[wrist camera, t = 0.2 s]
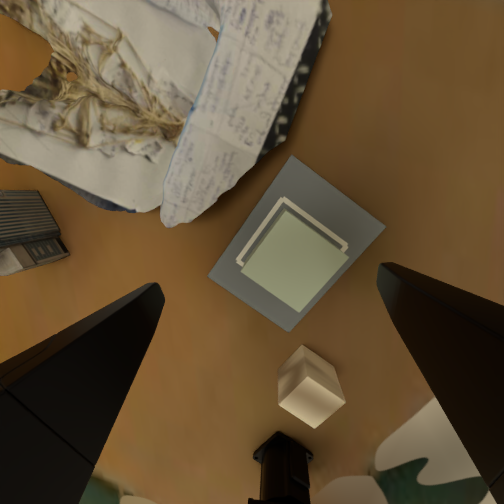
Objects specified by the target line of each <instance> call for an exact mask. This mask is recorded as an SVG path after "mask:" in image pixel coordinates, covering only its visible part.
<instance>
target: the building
mask: <svg viewBox="0 0 504 504" xmlns="http://www.w3.org/2000/svg"><path fill="white" fill-rule="evenodd" d="M59 231H60V229H59V227H58V225H57V224H56V222H55V220H54V218H53V216H52V215H51V213H50V211H49V209H48V208H47V206H46V204H45V202H44V201H43V199H42V197H41V195H40V194H39V192H38V191H32V190H0V276H8V275H11V274H14V273H18V272H21V271H24V270H28V269H31V268H34V267H38V266H41V265H44V264H48V263H51V262H54V261H57V260H60V259H62V258H64V257H67V256H69V255H70V254H69V252H68V251H67V249H66V247H65V246H64V244H63V243H62V241H61V240H60V238H59V237H58V236H59V235H61V234H60V233H59Z"/></svg>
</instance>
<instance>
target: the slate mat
mask: <svg viewBox="0 0 504 504" xmlns="http://www.w3.org/2000/svg"><path fill="white" fill-rule="evenodd" d="M284 208H285V209H286V210H287V211H289V212H290V213H291V214H293V215H294V216H296V217H297V218H298V219H300V220H301V221H302V222H304V223H305V224H306V225H308V226H309V227H310V228H312V229H313V230H315V231H316V232H317V233H319V234H320V235H321V236H323V237H324V238H325V239H327V240H328V241H329V242H331V243H332V244H334V245H335V246H336V247H337V248H339V249H340V250H341V251H342V252H343V253H345V254H346V255H347V256H348V257H349V258H348V260H347V261H346V262H345V263H344V264H343V265H342V266H341V267H340V268H339V269H338V271H337V272H336V273H335V274H334V275H333V276H332V277H331V278H330V279H329V280H328V282H327V283H326V284H325V285H324V286H323V287H322V288H321V289H320V290H319V292H318V293H317V294H316V295H315V296H314V297H313V298H312V299H311V300H310V301H309V303H308V304H307V305H306V306H305V307H304V308H303V309H302V310H301V311H300V313H299V312H297V311H296V310H295V309H293V308H292V307H290V306H289V305H287V304H286V303H285V302H283V301H282V300H280V299H279V298H277V297H276V296H275V295H273V294H272V293H270V292H269V291H267V290H266V289H265V288H263V287H262V286H260V285H259V284H258V283H256V282H255V281H253V280H252V279H250V278H249V277H248V276H246V275H245V274H243V273H242V272H240V271H241V269H242V267H243V265H244V263H245V260H246V259H247V257H248V256H249V255H250V253H251V252H252V251H253V249H254V248H255V247H256V245H257V244H258V242H259V241H260V240H261V238H262V237H263V236H264V234H265V233H266V232H267V230H268V229H269V228H270V226H271V225H272V223H273V222H274V221H275V219H276V218H277V217H278V215H279V214H280V213H281V211H282V210H283V209H284ZM385 228H386V226H385V225H384V224H382V223H381V222H380V221H378V220H377V219H376V218H374V217H373V216H372V215H370V214H369V213H368V212H366V211H365V210H364V209H363V208H361V207H360V206H359V205H357V204H356V203H355V202H353V201H352V200H351V199H349V198H348V197H347V196H345V195H344V194H343V193H341V192H340V191H339V190H337V189H336V188H335V187H334V186H332V185H331V184H330V183H328V182H327V181H326V180H324V179H323V178H322V177H320V176H319V175H318V174H316V173H315V172H314V171H312V170H311V169H310V168H309V167H307V166H306V165H305V164H303V163H302V162H301V161H299V160H298V159H297V158H295V157H294V156H293V155H291V156H290V158H289V159H288V161H287V162H286V164H285V165H284V166H283V168H282V169H281V171H280V172H279V174H278V175H277V176H276V178H275V179H274V181H273V182H272V184H271V185H270V187H269V188H268V189H267V191H266V192H265V194H264V195H263V197H262V198H261V200H260V201H259V202H258V204H257V205H256V207H255V208H254V210H253V211H252V212H251V214H250V215H249V217H248V218H247V220H246V221H245V223H244V224H243V225H242V227H241V228H240V230H239V231H238V233H237V234H236V236H235V237H234V238H233V240H232V241H231V243H230V244H229V246H228V247H227V248H226V250H225V251H224V253H223V254H222V256H221V257H220V259H219V260H218V261H217V263H216V264H215V266H214V267H213V269H212V270H211V271H210V273H209V274H208V276H207V277H209V278H210V279H212V280H213V281H215V282H216V283H217V284H219V285H220V286H222V287H223V288H225V289H226V290H228V291H229V292H230V293H232V294H233V295H235V296H236V297H238V298H239V299H241V300H242V301H243V302H245V303H246V304H248V305H249V306H251V307H252V308H254V309H255V310H256V311H258V312H259V313H261V314H262V315H264V316H265V317H267V318H268V319H270V320H271V321H272V322H274V323H275V324H277V325H278V326H280V327H281V328H283V329H284V330H285V331H287V332H288V333H289V332H290V331H291V330H292V329H293V328H294V327H295V325H296V324H297V323H298V322H299V321H300V320H301V319H302V318H303V317H304V316H305V315H306V314H307V312H308V311H309V310H310V309H311V308H312V307H313V306H314V305H315V304H316V303H317V302H318V300H319V299H320V298H321V297H322V296H323V295H324V294H325V293H326V292H327V291H328V290H329V288H330V287H331V286H332V285H333V284H334V283H335V282H336V281H337V280H338V279H339V278H340V277H341V275H342V274H343V273H344V272H345V271H346V270H347V269H348V268H349V267H350V266H351V265H352V263H353V262H354V261H355V260H356V259H357V258H358V257H359V256H360V255H361V254H362V253H363V252H364V250H365V249H366V248H367V247H368V246H369V245H370V244H371V243H372V242H373V241H374V240H375V238H376V237H377V236H378V235H379V234H380V233H381V232H382V231H383V230H384V229H385Z"/></svg>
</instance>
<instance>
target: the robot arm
mask: <svg viewBox="0 0 504 504" xmlns="http://www.w3.org/2000/svg"><path fill="white" fill-rule="evenodd" d="M377 287H378V290H379V292H380V294H381V297H382V299H383V301H384V304H385V306H386V308H387V311H388V313H389V315H390V318H391V320H392V322H393V324H394V326H395V328H396V329H397V331H398V333H399V335H400V336H401V338H402V340H403V341H404V343H405V345H406V347H407V348H408V350H409V352H410V354H411V355H412V357H413V359H414V360H415V362H416V364H417V366H418V367H419V369H420V371H421V373H422V374H423V376H424V378H425V379H426V381H427V383H428V385H429V386H430V388H431V390H432V392H433V393H434V395H435V397H436V398H437V400H438V402H439V404H440V405H441V407H442V409H443V411H444V412H445V414H446V416H447V418H448V419H449V421H450V423H451V424H452V426H453V428H454V430H455V431H456V433H457V435H458V437H459V438H460V440H461V442H462V444H463V445H464V447H465V448H466V450H467V452H468V454H469V456H470V457H471V459H472V460H473V462H474V464H475V466H476V468H477V469H478V471H479V473H480V475H481V476H482V478H483V480H484V482H485V483H486V485H487V486H488V487H489V491H490V492H491V494H492V496H493V497H494V499H495V501H496V503H497V504H504V306H503V305H500V304H498V303H495V302H493V301H490V300H488V299H485V298H483V297H480V296H477V295H475V294H472V293H470V292H467V291H465V290H462V289H460V288H457V287H454V286H452V285H449V284H447V283H444V282H442V281H439V280H437V279H434V278H431V277H429V276H426V275H424V274H421V273H419V272H416V271H414V270H411V269H408V268H406V267H403V266H401V265H398V264H396V263H393V262H387V263H381V264H379V267H378V274H377ZM164 303H165V297H164V294H163V292H162V290H161V288H160V285H159V284H158V283H156V282H154V283H147V284H145V285H143V286H141V287H140V288H138V289H136V290H134V291H132V292H131V293H129V294H127V295H125V296H123V297H122V298H120V299H118V300H116V301H114V302H113V303H111V304H109V305H107V306H105V307H104V308H102V309H100V310H98V311H96V312H94V313H93V314H91V315H89V316H87V317H85V318H84V319H82V320H80V321H78V322H76V323H75V324H73V325H71V326H69V327H67V328H66V329H64V330H62V331H60V332H58V333H57V334H55V335H53V336H51V337H49V338H47V339H46V340H44V341H42V342H40V343H38V344H36V345H35V346H33V347H31V348H29V349H27V350H25V351H23V352H22V353H20V354H18V355H16V356H14V357H12V358H10V359H8V360H6V361H4V362H2V363H0V504H79V501H80V499H81V497H82V495H83V492H84V490H85V488H86V486H87V484H88V481H89V479H90V477H91V475H92V472H93V470H94V468H95V465H96V463H97V461H98V459H99V456H100V454H101V452H102V450H103V447H104V445H105V443H106V441H107V438H108V436H109V434H110V432H111V429H112V427H113V425H114V423H115V421H116V418H117V416H118V414H119V412H120V409H121V407H122V405H123V403H124V400H125V398H126V396H127V394H128V392H129V389H130V387H131V385H132V383H133V380H134V378H135V376H136V374H137V371H138V369H139V367H140V365H141V362H142V360H143V358H144V356H145V354H146V351H147V349H148V347H149V345H150V342H151V340H152V338H153V335H154V333H155V330H156V327H157V324H158V321H159V318H160V315H161V312H162V309H163V306H164ZM253 459H254V460H256V461H257V462H259V463H260V464H261V481H260V500H254V499H253V498H248V504H310V495H309V489H310V482H309V473H308V465H307V464H308V463H309V462H311V461H312V460H313V454H312V453H311V452H309V451H308V450H306V449H305V448H303V447H302V446H300V445H299V444H297V443H296V442H294V441H293V440H291V439H289V438H288V437H286V436H285V435H283V434H282V433H280V432H277V433H276V434H274V435H273V436H272V437H271V438H270V439H269V440H268V441H267V442H266V443H264V444H263V445H262V446H261V447H260V448H259V449H258V450H257V451H256V452H255V453H254V454H253Z"/></svg>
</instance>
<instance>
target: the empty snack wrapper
mask: <svg viewBox="0 0 504 504" xmlns="http://www.w3.org/2000/svg"><path fill="white" fill-rule="evenodd" d="M0 13H1V14H3V15H5V16H8V17H10V18H12V19H14V20H16V21H18V22H19V23H21V24H22V25H24V26H25V27H27V28H28V29H30V30H32V31H33V32H35V33H37V34H40V35H41V36H42V37H43V38H44V39H46V40H47V41H48V42H49V43H50V44H51V46H52V48H53V50H54V51H55V52H54V53H52V54H51V59H50V62H49V65H48V67H46V68H45V69H44V71H43V72H42V74H41V75H40V76H39V77H37V78H35V79H34V81H33V84H31V85H29V86H27V88H26V89H25V91H21V92H16V91H12V90H0V158H2V159H3V160H5V161H6V162H7V163H10V164H19V165H31V166H33V167H34V168H36V169H38V170H40V171H42V172H43V173H44V174H46V175H47V176H49V177H51V178H52V179H54V180H57V181H59V182H60V183H61V184H63V185H64V186H66V187H68V188H70V189H71V190H73V191H74V192H76V193H77V194H78V195H80V196H82V197H83V198H84V199H86V200H87V201H88V202H90V203H92V204H94V205H96V206H98V207H100V208H103V209H106V210H110V211H125V210H126V211H127V212H128V213H136V212H144V213H145V212H148V211H150V210H152V209H154V208H156V207H157V206H159V205H161V208H160V217H161V222H162V223H164V225H165V226H166V227H167V228H171V227H174V226H176V225H177V224H179V223H182V222H185V223H188V222H191V221H192V220H193V219H194V218H196V217H198V216H199V215H200V214H201V213H202V212H204V211H205V210H206V209H207V208H209V207H210V206H211V205H212V204H214V203H215V202H216V201H217V198H218V197H219V196H220V195H221V194H222V193H224V192H226V191H227V190H229V189H231V188H232V187H234V186H235V184H236V183H237V181H238V179H239V178H240V177H242V176H243V175H244V174H245V173H246V172H247V171H248V170H249V169H250V168H252V167H253V166H254V165H255V164H256V163H257V162H259V161H260V159H261V158H262V157H263V156H264V155H265V154H266V153H267V152H268V151H270V150H271V149H273V148H274V147H276V146H277V145H279V144H280V143H282V142H283V141H285V139H286V136H287V134H288V131H289V129H290V126H291V123H292V121H293V118H294V115H295V113H296V110H297V107H298V105H299V102H300V99H301V97H302V94H303V91H304V89H305V86H306V83H307V81H308V78H309V75H310V73H311V70H312V67H313V65H314V62H315V59H316V57H317V54H318V51H319V49H320V46H321V43H322V41H323V38H324V36H325V33H326V30H327V28H328V25H329V22H330V20H331V17H332V13H331V9H330V6H329V3H328V0H0ZM207 26H211V27H213V28H214V29H215V30H216V31H218V32H219V37H218V40H217V43H216V41H215V37H213V36H212V35H211V33H210V32H209V30H208V28H207ZM68 72H74V73H75V74H76V75H77V76H78V78H77V79H76V80H74V81H71V82H68V81H67V80H66V75H67V74H68Z"/></svg>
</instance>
